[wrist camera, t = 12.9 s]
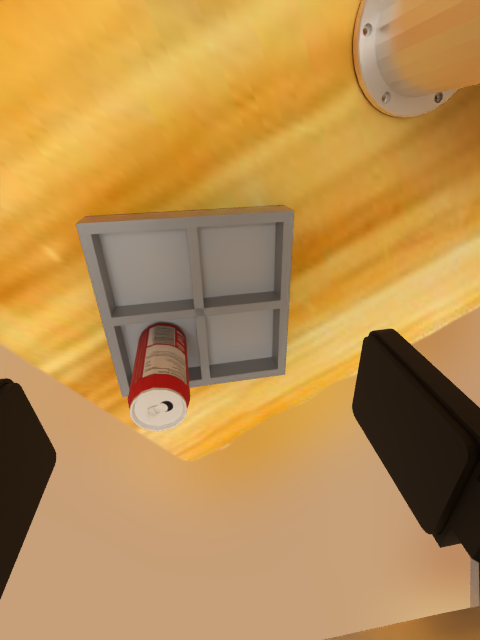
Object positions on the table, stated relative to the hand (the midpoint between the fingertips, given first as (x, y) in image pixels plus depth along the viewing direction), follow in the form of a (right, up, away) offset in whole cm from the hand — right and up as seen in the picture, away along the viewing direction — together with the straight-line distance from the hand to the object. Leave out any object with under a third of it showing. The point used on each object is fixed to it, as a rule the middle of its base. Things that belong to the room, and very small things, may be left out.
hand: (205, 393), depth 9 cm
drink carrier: (-4, +4, +28) cm, 29 cm away
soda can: (-8, 0, +29) cm, 30 cm away
